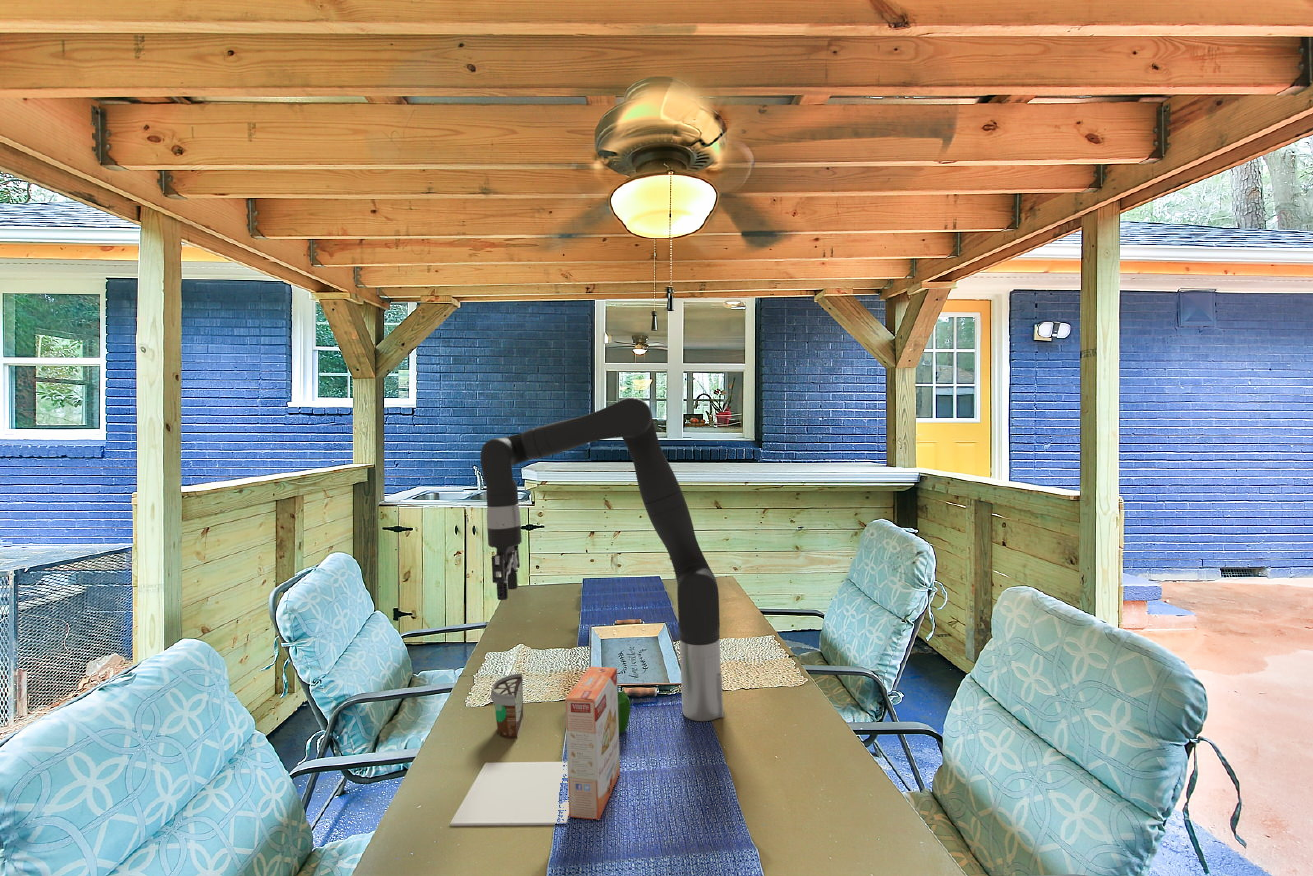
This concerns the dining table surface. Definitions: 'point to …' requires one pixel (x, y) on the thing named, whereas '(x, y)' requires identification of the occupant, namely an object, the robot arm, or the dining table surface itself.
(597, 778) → the cracker box
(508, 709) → the food container
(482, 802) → the off-white mat
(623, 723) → the bell pepper
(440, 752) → the dining table surface
